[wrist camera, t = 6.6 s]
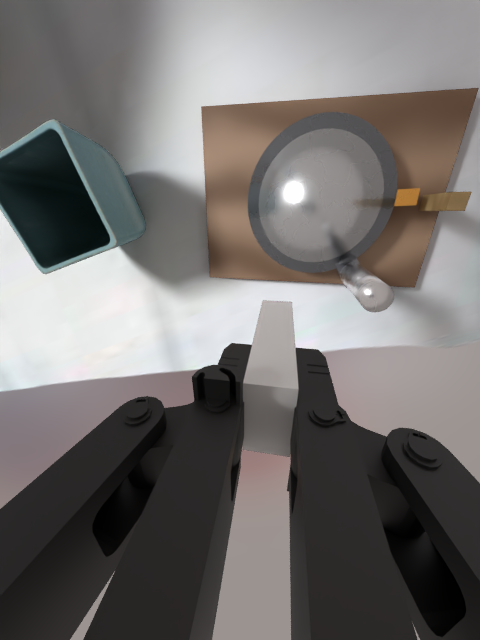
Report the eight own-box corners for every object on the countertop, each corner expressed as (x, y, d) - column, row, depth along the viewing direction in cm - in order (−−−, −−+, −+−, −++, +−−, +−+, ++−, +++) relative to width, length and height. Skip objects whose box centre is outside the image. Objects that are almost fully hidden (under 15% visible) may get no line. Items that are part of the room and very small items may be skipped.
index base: (205, 111, 22) (183, 84, 17) (469, 94, 18) (528, 55, 14) (212, 274, 28) (198, 287, 23) (409, 284, 24) (437, 301, 20)
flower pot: (168, 235, 27) (118, 246, 19) (108, 258, 29) (40, 276, 21) (132, 147, 24) (54, 114, 16) (68, 180, 26) (-28, 167, 18)
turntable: (226, 182, 22) (193, 166, 14) (365, 72, 18) (430, -41, 10) (296, 304, 26) (301, 346, 18) (426, 240, 22) (509, 258, 14)
